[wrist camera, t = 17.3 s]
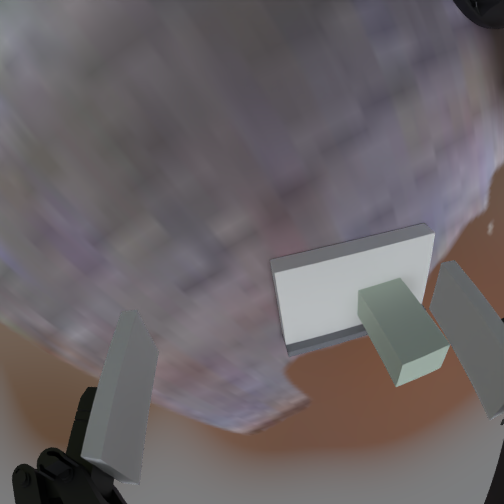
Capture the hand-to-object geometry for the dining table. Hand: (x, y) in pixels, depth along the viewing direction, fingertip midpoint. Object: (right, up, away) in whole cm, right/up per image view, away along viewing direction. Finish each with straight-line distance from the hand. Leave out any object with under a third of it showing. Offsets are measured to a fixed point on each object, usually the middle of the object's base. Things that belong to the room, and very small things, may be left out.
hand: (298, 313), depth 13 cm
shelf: (+13, -2, +33) cm, 36 cm away
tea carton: (+17, -4, +32) cm, 36 cm away
